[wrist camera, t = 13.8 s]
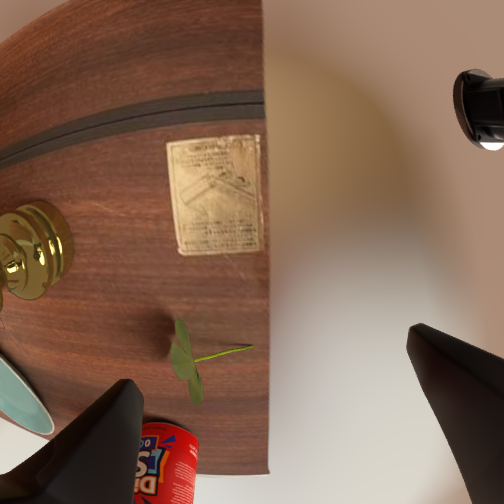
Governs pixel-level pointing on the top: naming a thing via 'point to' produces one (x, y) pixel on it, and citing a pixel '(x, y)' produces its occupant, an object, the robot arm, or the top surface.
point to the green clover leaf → (190, 362)
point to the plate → (22, 400)
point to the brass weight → (33, 250)
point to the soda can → (166, 465)
